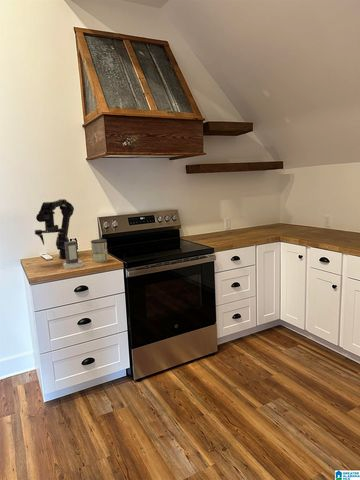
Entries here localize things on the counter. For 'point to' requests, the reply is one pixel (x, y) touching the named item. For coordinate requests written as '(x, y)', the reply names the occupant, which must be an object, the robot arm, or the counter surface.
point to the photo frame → (71, 252)
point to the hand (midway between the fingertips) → (51, 244)
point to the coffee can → (99, 250)
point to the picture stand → (73, 265)
